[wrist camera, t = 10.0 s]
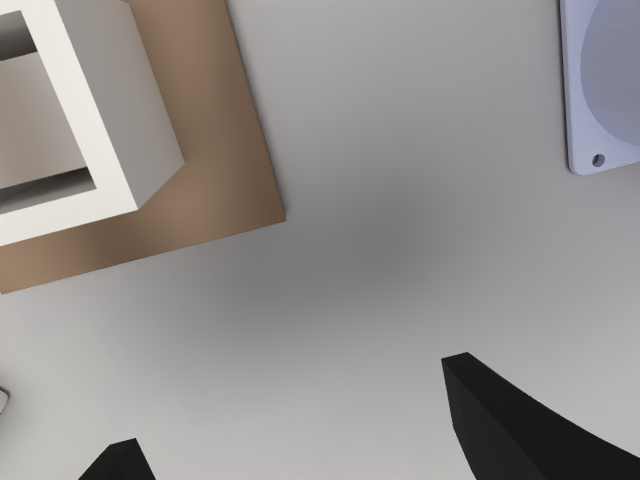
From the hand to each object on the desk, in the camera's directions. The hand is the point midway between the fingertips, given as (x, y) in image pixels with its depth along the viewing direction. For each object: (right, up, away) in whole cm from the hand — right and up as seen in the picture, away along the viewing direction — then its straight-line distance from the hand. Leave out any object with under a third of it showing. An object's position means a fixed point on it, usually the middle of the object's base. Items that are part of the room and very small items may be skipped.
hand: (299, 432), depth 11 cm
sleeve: (-7, +9, +5) cm, 13 cm away
